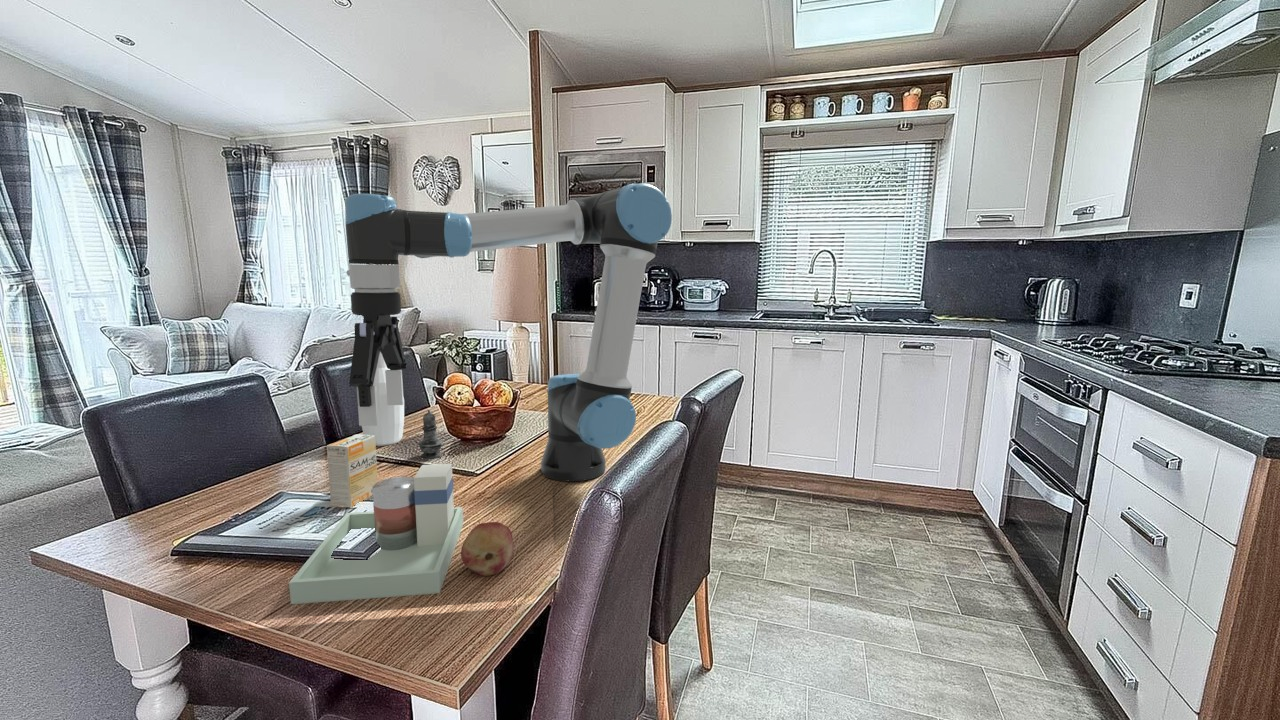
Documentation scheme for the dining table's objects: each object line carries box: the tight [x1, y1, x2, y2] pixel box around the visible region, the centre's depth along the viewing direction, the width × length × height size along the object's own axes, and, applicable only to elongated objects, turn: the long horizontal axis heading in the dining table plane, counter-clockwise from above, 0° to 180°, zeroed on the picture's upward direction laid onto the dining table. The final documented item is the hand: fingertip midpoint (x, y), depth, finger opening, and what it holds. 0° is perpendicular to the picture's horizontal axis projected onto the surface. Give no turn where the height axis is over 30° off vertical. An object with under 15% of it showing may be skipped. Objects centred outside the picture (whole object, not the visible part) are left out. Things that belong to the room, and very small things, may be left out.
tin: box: [372, 476, 417, 550], centre depth 93 cm, size 7×7×10 cm
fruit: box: [460, 521, 515, 577], centre depth 85 cm, size 8×8×8 cm
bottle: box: [361, 351, 405, 447], centre depth 147 cm, size 11×11×25 cm
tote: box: [288, 506, 464, 605], centre depth 88 cm, size 20×22×4 cm
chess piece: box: [417, 409, 444, 460], centre depth 137 cm, size 6×6×12 cm
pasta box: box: [413, 463, 455, 546], centre depth 94 cm, size 5×6×12 cm
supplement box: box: [326, 433, 378, 508], centre depth 109 cm, size 8×5×13 cm, turn 168°
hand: (383, 414), depth 95 cm, fingers open, 13 cm apart
